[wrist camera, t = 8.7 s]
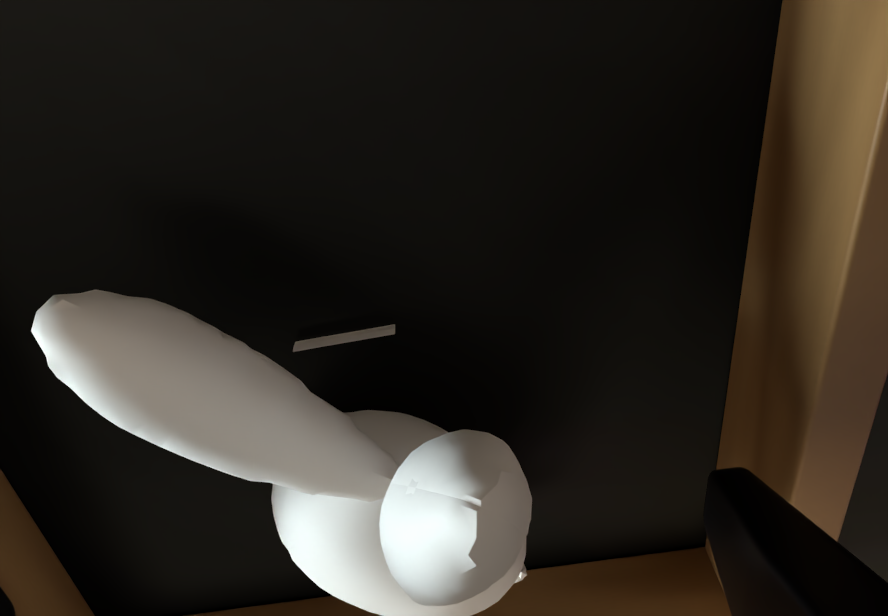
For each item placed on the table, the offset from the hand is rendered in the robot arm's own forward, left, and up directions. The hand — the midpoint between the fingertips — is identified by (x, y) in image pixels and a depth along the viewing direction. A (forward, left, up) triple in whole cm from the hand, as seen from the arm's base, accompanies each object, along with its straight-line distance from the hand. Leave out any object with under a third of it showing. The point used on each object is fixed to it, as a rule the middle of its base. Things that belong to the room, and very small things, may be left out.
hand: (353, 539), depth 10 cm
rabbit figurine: (0, +1, -4) cm, 4 cm away
